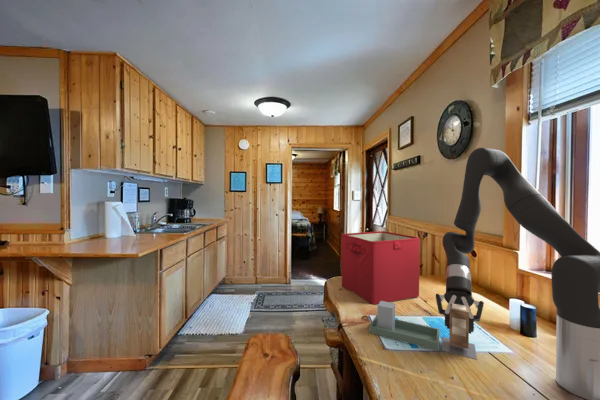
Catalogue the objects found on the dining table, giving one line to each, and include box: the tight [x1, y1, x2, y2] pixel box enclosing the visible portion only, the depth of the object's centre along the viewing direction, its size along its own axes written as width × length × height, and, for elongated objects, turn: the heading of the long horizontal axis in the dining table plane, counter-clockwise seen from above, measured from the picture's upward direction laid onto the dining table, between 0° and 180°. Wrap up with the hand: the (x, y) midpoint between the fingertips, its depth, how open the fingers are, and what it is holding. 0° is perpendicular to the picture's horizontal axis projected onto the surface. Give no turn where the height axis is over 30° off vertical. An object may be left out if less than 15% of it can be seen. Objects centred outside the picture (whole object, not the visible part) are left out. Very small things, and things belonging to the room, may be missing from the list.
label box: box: [449, 304, 470, 349], centre depth 83 cm, size 5×6×11 cm
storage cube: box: [341, 230, 420, 306], centre depth 133 cm, size 32×28×29 cm
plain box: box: [377, 301, 396, 331], centre depth 94 cm, size 5×5×9 cm
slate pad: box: [441, 336, 478, 361], centre depth 83 cm, size 9×9×1 cm
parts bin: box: [368, 314, 441, 351], centre depth 91 cm, size 21×10×3 cm, turn 60°
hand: (458, 329), depth 81 cm, fingers closed on label box, 5 cm apart
